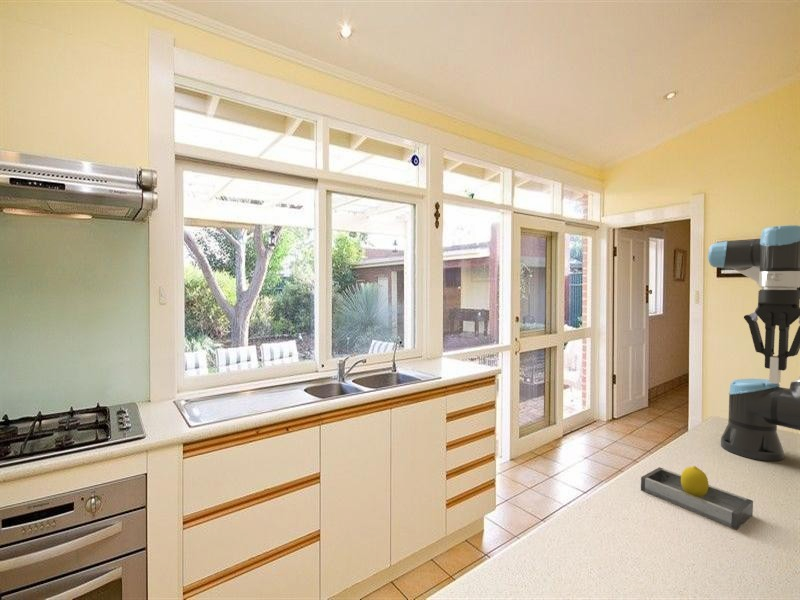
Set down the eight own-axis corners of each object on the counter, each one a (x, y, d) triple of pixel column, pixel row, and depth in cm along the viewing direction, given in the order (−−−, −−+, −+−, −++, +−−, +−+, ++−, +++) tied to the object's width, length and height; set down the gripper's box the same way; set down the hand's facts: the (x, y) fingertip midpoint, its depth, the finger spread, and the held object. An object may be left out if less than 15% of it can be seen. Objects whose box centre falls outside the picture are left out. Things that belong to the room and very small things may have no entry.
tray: (658, 479, 109) (659, 467, 109) (752, 515, 93) (753, 500, 92) (640, 490, 104) (641, 477, 104) (736, 530, 87) (737, 514, 87)
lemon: (683, 501, 97) (684, 469, 96) (677, 490, 102) (678, 459, 101) (711, 506, 95) (712, 473, 94) (703, 494, 100) (704, 463, 99)
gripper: (740, 288, 102) (736, 379, 103) (811, 289, 91) (806, 390, 92) (750, 288, 106) (747, 375, 107) (820, 288, 95) (815, 385, 97)
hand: (774, 382), depth 100 cm, fingers closed
